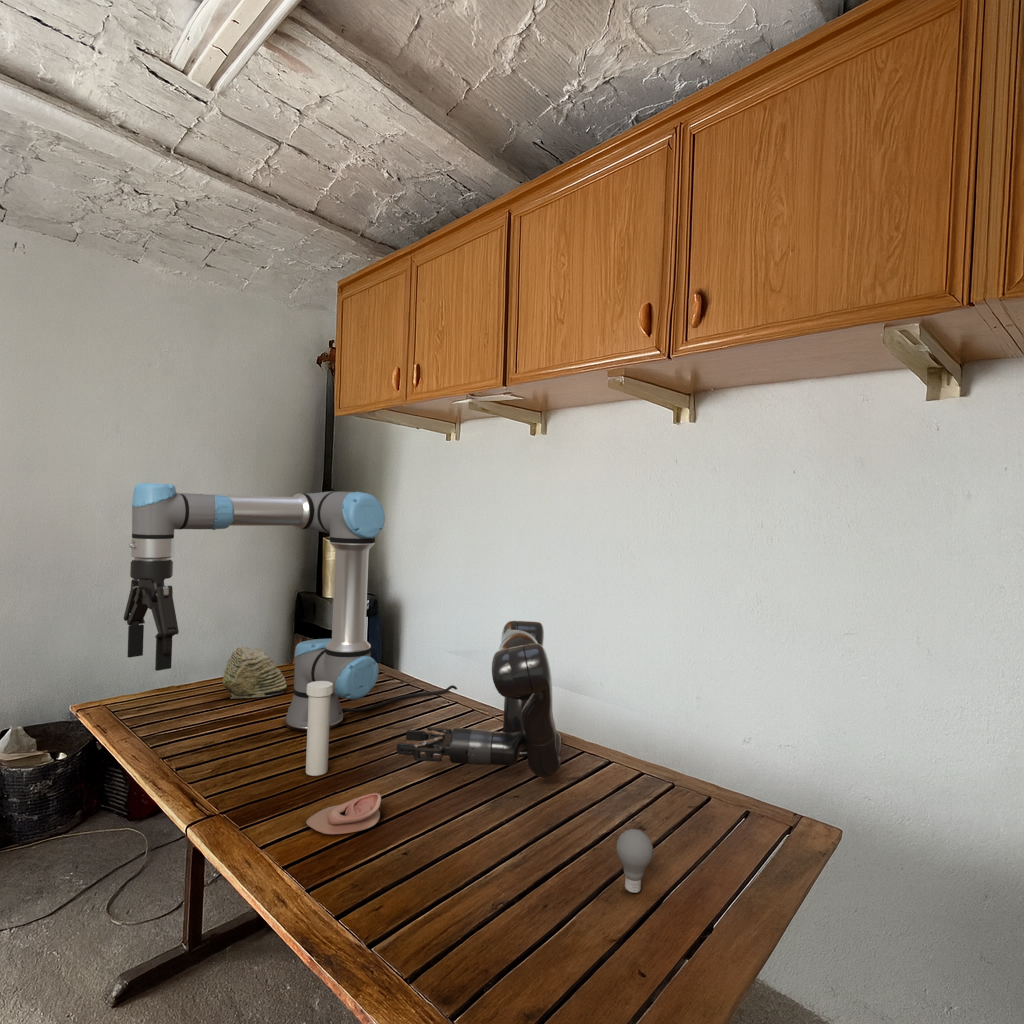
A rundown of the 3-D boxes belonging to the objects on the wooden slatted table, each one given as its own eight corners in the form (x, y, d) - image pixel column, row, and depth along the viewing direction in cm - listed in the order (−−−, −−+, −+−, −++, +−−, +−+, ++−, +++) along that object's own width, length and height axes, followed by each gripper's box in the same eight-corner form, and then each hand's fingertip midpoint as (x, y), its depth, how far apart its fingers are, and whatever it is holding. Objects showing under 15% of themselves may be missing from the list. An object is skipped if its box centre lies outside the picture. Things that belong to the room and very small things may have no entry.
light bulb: (610, 879, 108) (613, 822, 108) (644, 879, 109) (647, 822, 109) (619, 902, 102) (622, 840, 102) (655, 901, 103) (658, 840, 103)
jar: (303, 775, 143) (306, 689, 143) (308, 766, 148) (311, 683, 148) (325, 775, 144) (328, 689, 143) (329, 766, 149) (332, 683, 148)
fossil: (218, 695, 195) (220, 647, 195) (278, 685, 208) (279, 640, 207) (228, 703, 189) (230, 653, 188) (289, 692, 201) (290, 645, 201)
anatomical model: (298, 809, 120) (327, 783, 131) (297, 830, 120) (327, 802, 131) (363, 819, 117) (388, 791, 128) (362, 840, 117) (387, 811, 128)
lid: (303, 697, 142) (304, 687, 142) (309, 689, 148) (310, 680, 148) (330, 697, 143) (330, 688, 143) (334, 689, 149) (335, 681, 149)
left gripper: (108, 554, 134) (104, 654, 134) (159, 565, 118) (155, 678, 119) (146, 552, 140) (143, 648, 140) (199, 563, 124) (195, 671, 124)
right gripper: (477, 719, 150) (409, 715, 151) (468, 741, 136) (394, 736, 137) (475, 751, 150) (408, 746, 151) (467, 776, 136) (393, 770, 137)
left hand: (148, 662), depth 129 cm, fingers open, 13 cm apart
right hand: (401, 741), depth 144 cm, fingers open, 8 cm apart
